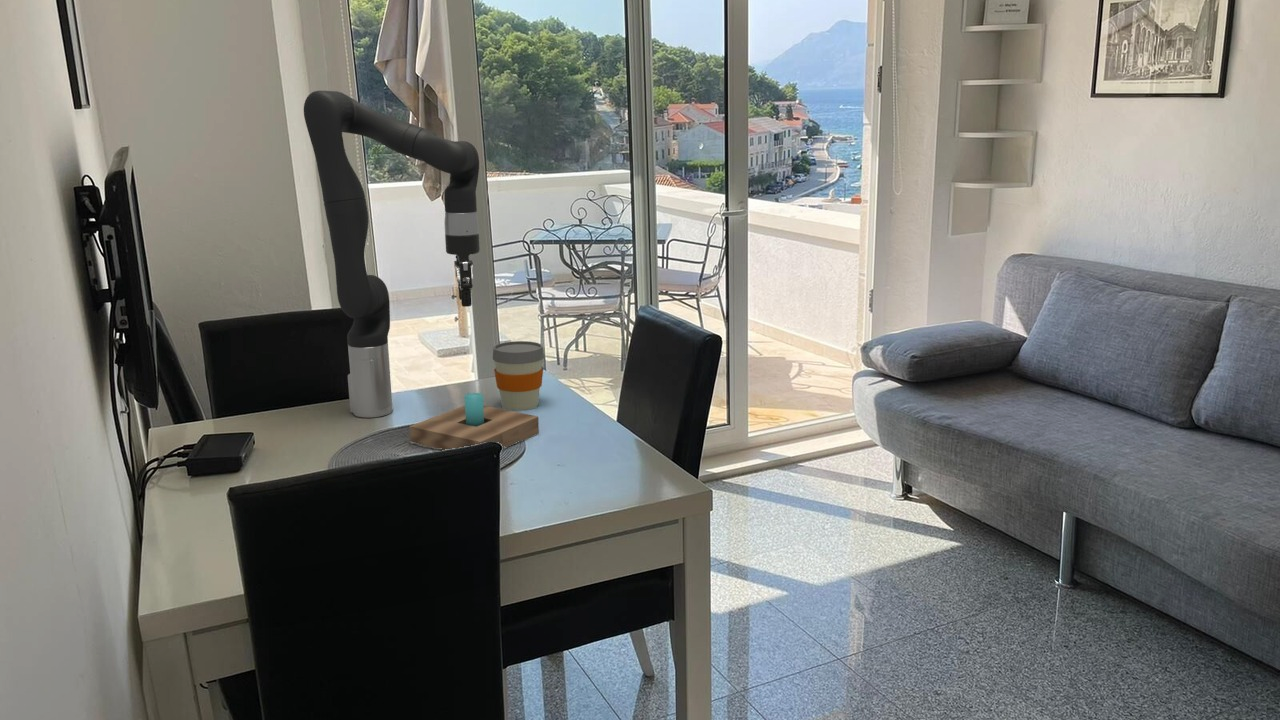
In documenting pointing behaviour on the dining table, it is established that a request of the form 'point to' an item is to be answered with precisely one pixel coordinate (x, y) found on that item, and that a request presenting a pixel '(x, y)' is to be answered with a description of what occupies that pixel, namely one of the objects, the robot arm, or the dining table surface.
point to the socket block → (474, 429)
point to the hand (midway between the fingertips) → (465, 302)
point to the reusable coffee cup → (518, 373)
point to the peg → (474, 409)
